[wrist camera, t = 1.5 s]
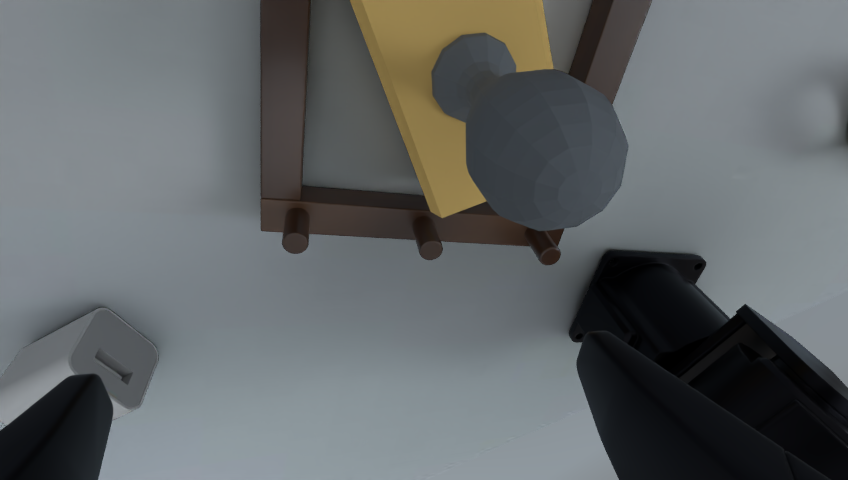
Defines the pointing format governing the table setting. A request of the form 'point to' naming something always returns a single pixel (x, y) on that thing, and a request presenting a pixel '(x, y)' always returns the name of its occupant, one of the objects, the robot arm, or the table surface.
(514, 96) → the rubber stamp
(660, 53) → the table surface
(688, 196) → the table surface
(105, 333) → the usb wall charger
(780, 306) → the table surface
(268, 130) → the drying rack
